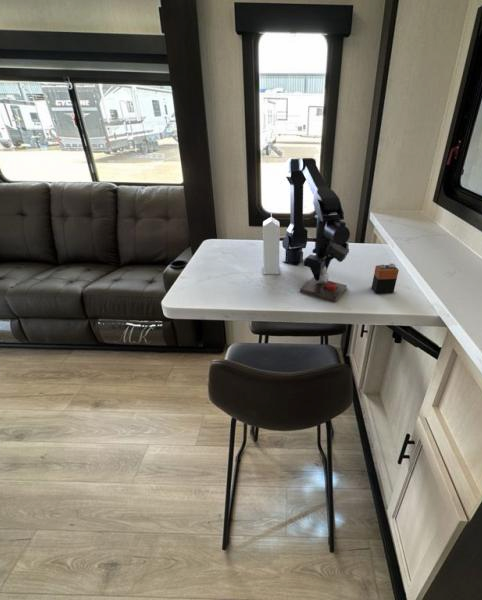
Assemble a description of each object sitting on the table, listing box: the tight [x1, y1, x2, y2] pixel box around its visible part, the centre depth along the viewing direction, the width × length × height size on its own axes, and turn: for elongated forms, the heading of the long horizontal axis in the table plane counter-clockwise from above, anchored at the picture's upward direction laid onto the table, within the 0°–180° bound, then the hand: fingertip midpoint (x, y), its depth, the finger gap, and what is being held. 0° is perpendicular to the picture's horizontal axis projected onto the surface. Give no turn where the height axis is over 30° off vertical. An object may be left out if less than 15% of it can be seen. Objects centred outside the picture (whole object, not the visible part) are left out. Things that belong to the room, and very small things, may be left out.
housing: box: [299, 277, 348, 303], centre depth 106 cm, size 13×12×4 cm
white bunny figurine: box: [312, 267, 330, 284], centre depth 107 cm, size 5×7×8 cm
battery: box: [371, 263, 399, 295], centre depth 106 cm, size 4×7×10 cm, turn 99°
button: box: [325, 281, 337, 290], centre depth 102 cm, size 4×4×2 cm
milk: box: [262, 214, 281, 275], centre depth 114 cm, size 6×6×22 cm
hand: (320, 277), depth 108 cm, fingers closed on white bunny figurine, 6 cm apart
